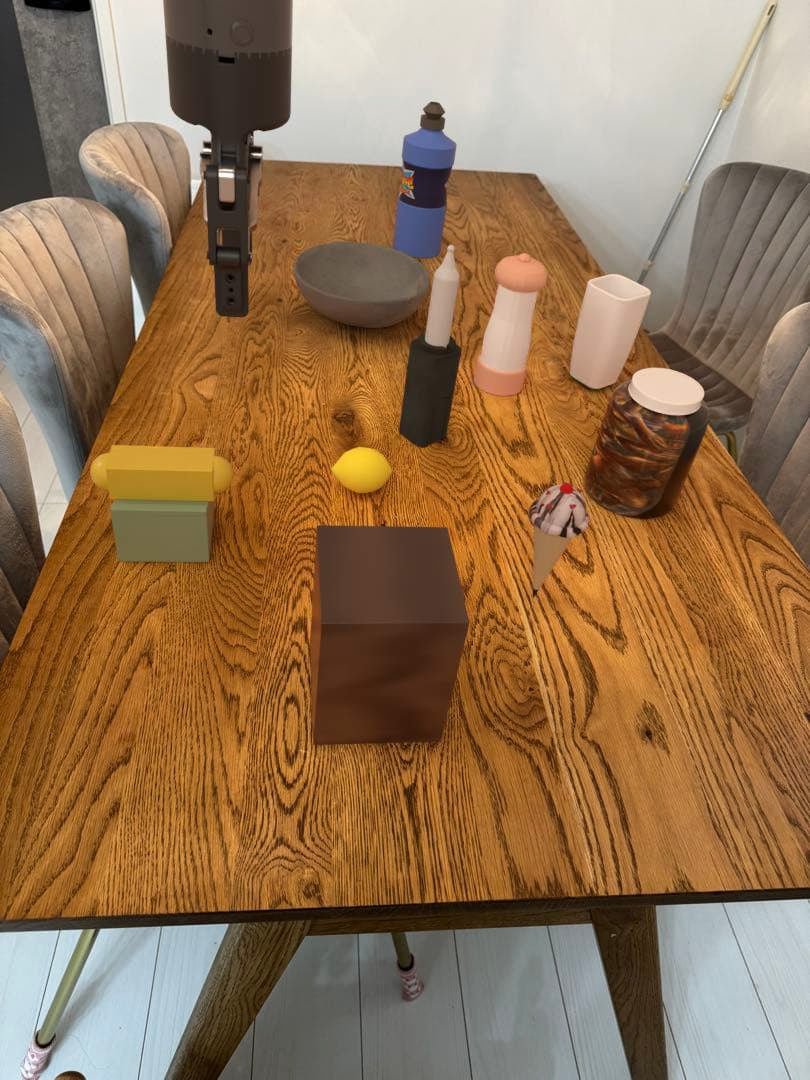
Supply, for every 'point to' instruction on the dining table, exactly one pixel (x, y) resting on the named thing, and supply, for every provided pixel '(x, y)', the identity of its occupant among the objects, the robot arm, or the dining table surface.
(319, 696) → the block
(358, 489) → the lemon
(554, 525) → the ice cream cone
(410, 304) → the bowl
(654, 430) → the jar
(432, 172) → the water bottle
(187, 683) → the dining table surface
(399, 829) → the dining table surface
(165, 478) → the yellow ball-topped peg
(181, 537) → the block
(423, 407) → the candle
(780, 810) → the dining table surface
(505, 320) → the salt shaker
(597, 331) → the cup
